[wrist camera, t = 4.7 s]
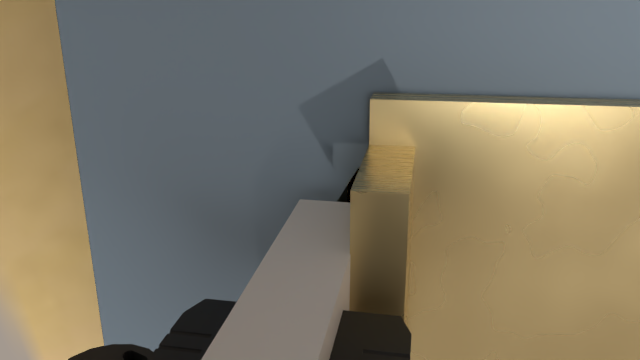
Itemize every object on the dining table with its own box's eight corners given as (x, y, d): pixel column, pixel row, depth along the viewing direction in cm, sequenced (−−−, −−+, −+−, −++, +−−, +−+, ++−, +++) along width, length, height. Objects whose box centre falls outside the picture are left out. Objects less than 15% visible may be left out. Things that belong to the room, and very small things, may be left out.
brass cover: (373, 92, 13) (351, 133, 10) (716, 101, 12) (832, 153, 9) (367, 356, 16) (347, 468, 12) (656, 387, 14) (727, 521, 11)
